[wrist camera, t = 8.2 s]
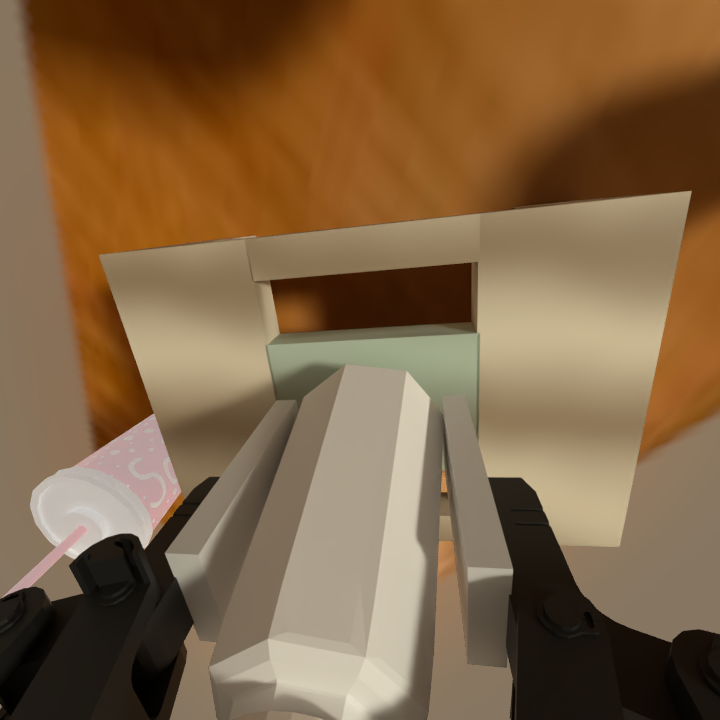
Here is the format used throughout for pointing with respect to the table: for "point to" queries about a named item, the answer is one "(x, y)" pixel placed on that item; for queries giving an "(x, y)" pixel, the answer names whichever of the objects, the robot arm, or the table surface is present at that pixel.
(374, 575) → the pepper shaker
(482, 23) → the table surface
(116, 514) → the beverage cup
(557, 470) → the cut-out shelf
